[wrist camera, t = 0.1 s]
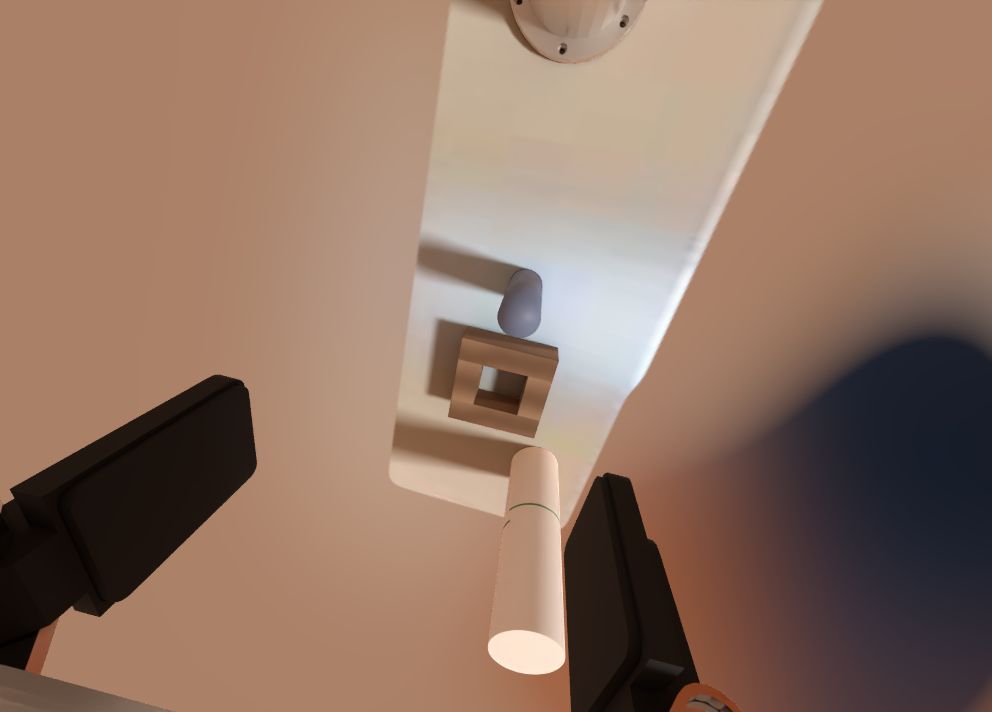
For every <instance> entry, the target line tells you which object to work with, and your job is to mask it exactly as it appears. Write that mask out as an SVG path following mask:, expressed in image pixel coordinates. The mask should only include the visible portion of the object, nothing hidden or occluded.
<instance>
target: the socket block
mask: <svg viewBox="0 0 992 712" xmlns="http://www.w3.org/2000/svg"><path fill="white" fill-rule="evenodd" d="M558 362H559V359H558V348H556V347H552V346H548V345H544V344H539V343H535V342H531V341H527V340H523V339H519V338H515V337H511V336H507V335H502V334H498V333H494V332H490V331H486V330H482V329H478V328H474V327H470V326H469V327H468V328H467V330H466V332H465V334H464V335H463V337H462V342H461V347H460V353H459V358H458V364H457V369H456V375H455V381H454V386H453V392H452V397H451V403H450V408H449V414H448V417H450V418H454V419H458V420H462V421H466V422H470V423H474V424H478V425H482V426H486V427H490V428H494V429H498V430H502V431H506V432H510V433H514V434H518V435H522V436H526V437H530V438H534V437H535V433H536V430H537V427H538V424H539V421H540V418H541V415H542V412H543V409H544V405H545V402H546V399H547V396H548V393H549V390H550V387H551V384H552V381H553V377H554V374H555V371H556V368H557V365H558ZM483 366H488V367H492V368H496V369H500V370H504V371H508V372H512V373H516V374H520V375H524V376H526V378H525V381H524V385H523V388H522V392H521V395H520V399H517V398H513V397H509V396H505V395H501V394H497V393H493V392H489V391H485V390H481V389H478V388H479V384H480V379H481V375H482V370H483Z"/></svg>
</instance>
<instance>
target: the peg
mask: <svg viewBox="0 0 992 712" xmlns="http://www.w3.org/2000/svg"><path fill="white" fill-rule="evenodd" d="M541 303H542V280H541V278H540V276H539V275H538V274H537V273H536V272H534V271H532V270H529V269H523V270H520V271H518V272H516V273H515V274H514V275H513V276H512V278H511V280H510V283H509V285H508V288H507V290H506V293H505V295H504V298H503V300H502V303H501V306H500V308H499V311H498V323H499V326H500V327H501V329H502V330H503V331H504V332H505V333H506V334H508V335H509V336H512V337H516V338H523V337H527V336H529V335H531V334H533V333H534V332H535V331H536V330H537V328H538V327H539V324H540V321H541Z"/></svg>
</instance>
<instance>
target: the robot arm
mask: <svg viewBox="0 0 992 712" xmlns="http://www.w3.org/2000/svg"><path fill="white" fill-rule="evenodd" d="M517 1H518V0H510V3H511V7H512V11H513V14H514V18H515V20H516V22H517V24H518V27H519V29H520V31H521V33H522V34H523V36H524V37H525V38H526V40H527V41H528V43H529V44H530V45H531V46H532V47H533V48H534V49H535V50H537V51H538V52H539V53H540V54H542V55H544V56H545V57H547V58H549V59H551V60H554V61H557V62H561V63H574V64H576V63H581V62H586V61H590V60H592V59H594V58H597V57H599V56H601V55H603V54H604V53H606V52H607V51H609V50H610V49H612V48H613V47H614V46H615V45H617V44H618V43H619V42H620V41H621V40H622V39H623V38H624V37H625V36H626V34H627V33H628V32H629V30H630V29H631V28H632V26H633V25H634V24H635V22H636V21H637V19H638V17H639V15H640V14H641V12H642V10H643V8H644V6H645V4H646V1H647V0H522V4H521V5H517ZM621 22H624V23H625V27H624V28H622V27H620V23H621ZM561 49H564V50H565V53H564V54H560V52H559V51H560V50H561ZM256 466H257V460H256V451H255V443H254V435H253V425H252V417H251V408H250V399H249V391H248V389H247V388H246V387H245V386H244V383H243V382H242V381H241V380H238V379H234V378H230V377H227V376H223V375H213V376H211V377H209V378H207V379H205V380H204V381H202V382H200V383H198V384H196V385H195V386H193V387H191V388H189V389H188V390H186V391H184V392H182V393H180V394H179V395H177V396H176V397H173V398H171V399H170V400H168V401H166V402H164V403H163V404H161V405H159V406H157V407H155V408H154V409H152V410H150V411H148V412H147V413H145V414H143V415H141V416H139V417H138V418H136V419H134V420H132V421H130V422H129V423H127V424H125V425H123V426H121V427H120V428H118V429H116V430H114V431H113V432H111V433H109V434H107V435H105V436H104V437H102V438H100V439H98V440H96V441H95V442H93V443H91V444H89V445H88V446H86V447H84V448H82V449H80V450H79V451H77V452H75V453H73V454H72V455H70V456H68V457H66V458H64V459H63V460H61V461H59V462H57V463H56V464H54V465H52V466H50V467H48V468H46V469H45V470H43V471H41V472H39V473H38V474H36V475H34V476H32V477H30V478H29V479H27V480H25V481H23V482H22V483H20V484H18V485H16V486H14V487H13V488H11V489H10V491H11V493H12V494H13V496H14V498H15V499H13V500H11V501H10V502H8V503H6V504H4V505H3V504H2V502H1V500H0V712H174V711H170V710H167V709H163V708H159V707H156V706H152V705H148V704H145V703H141V702H138V701H134V700H130V699H126V698H123V697H119V696H116V695H112V694H108V693H104V692H101V691H97V690H93V689H89V688H86V687H82V686H79V685H75V684H71V683H67V682H64V681H60V680H57V679H53V678H49V677H46V676H42V675H40V674H41V671H42V668H43V665H44V661H45V659H46V656H47V653H48V650H49V647H50V644H51V641H52V637H53V635H54V631H55V629H56V625H57V622H58V619H59V617H60V616H61V615H62V614H63V613H64V612H65V611H67V610H68V609H69V608H70V607H71V606H73V607H74V610H76V611H79V612H83V613H87V614H90V615H94V616H98V617H100V616H102V615H103V614H104V613H105V612H106V611H107V610H108V609H109V608H110V607H111V606H112V605H113V604H114V603H115V602H119V601H122V600H123V599H125V598H126V597H128V596H129V595H130V594H131V593H132V592H133V591H134V590H135V589H136V588H137V587H138V586H139V585H140V584H142V582H144V581H145V580H146V579H147V578H148V577H149V576H150V575H151V574H152V573H153V572H154V571H155V570H156V569H157V568H158V567H159V566H160V565H161V564H162V563H163V562H164V561H165V560H166V559H167V558H168V557H169V556H170V555H171V554H172V553H173V552H174V551H175V550H176V549H177V548H178V547H179V546H180V545H181V544H183V543H184V541H186V539H188V538H189V537H190V536H191V535H192V534H193V533H194V532H195V531H196V530H197V529H198V528H199V527H200V526H201V525H202V524H203V523H204V522H205V521H206V520H207V519H208V518H209V517H210V516H211V515H212V514H213V513H214V512H215V511H216V510H217V509H218V508H219V507H220V506H222V505H223V503H225V502H226V501H227V500H228V499H229V498H230V497H231V496H232V495H233V494H234V493H235V492H236V491H237V490H238V489H239V488H240V487H241V486H242V485H243V484H244V483H245V482H246V481H247V480H248V479H249V478H250V477H251V476H252V475H253V473H254V471H255V469H256ZM564 566H565V567H564V568H565V587H566V588H565V589H566V610H567V632H568V652H569V673H570V696H571V712H742V711H741V710H740V708H739V707H738V706H737V705H736V704H735V703H734V702H733V701H732V700H730V699H729V698H728V697H727V696H726V695H724V694H723V693H722V692H720V691H718V690H717V689H715V688H713V687H711V686H709V685H706V684H700V682H699V679H698V676H697V672H696V669H695V666H694V662H693V659H692V656H691V653H690V649H689V646H688V643H687V640H686V637H685V633H684V630H683V627H682V624H681V621H680V617H679V614H678V611H677V607H676V604H675V601H674V598H673V595H672V591H671V588H670V585H669V582H668V579H667V575H666V572H665V569H664V566H663V562H662V559H661V556H660V553H659V550H658V548H657V545H656V544H655V543H654V542H653V540H650V539H647V536H646V532H645V529H644V526H643V522H642V518H641V515H640V511H639V508H638V504H637V501H636V498H635V494H634V491H633V487H632V484H631V481H630V479H629V478H627V477H623V476H619V475H615V474H611V473H605V474H604V475H603V477H599V476H597V477H596V478H595V480H594V482H593V485H592V487H591V489H590V491H589V494H588V496H587V498H586V500H585V503H584V505H583V507H582V509H581V511H580V514H579V516H578V518H577V520H576V523H575V525H574V527H573V529H572V532H571V534H570V536H569V538H568V541H567V543H566V547H565V552H564Z"/></svg>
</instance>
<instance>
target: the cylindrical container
mask: <svg viewBox="0 0 992 712" xmlns="http://www.w3.org/2000/svg"><path fill="white" fill-rule="evenodd" d="M562 588H563V587H562V562H561V536H560V509H559V483H558V463H557V460H556V458H555V457H554V455H553V454H552V453H550V452H549V451H547V450H545V449H543V448H539V447H527V448H523V449H521V450H519V451H518V452H517V453H516V454H515V455H514V456H513V458H512V462H511V470H510V478H509V486H508V494H507V501H506V509H505V517H504V525H503V533H502V541H501V548H500V556H499V563H498V571H497V579H496V587H495V595H494V602H493V610H492V618H491V625H490V633H489V641H488V651H489V654H490V655H491V656H492V658H493V659H494V660H495V661H496V662H497V663H499V664H500V665H502V666H503V667H506V668H507V669H510V670H513V671H516V672H520V673H525V674H544V673H549V672H552V671H555V670H557V669H558V668H559V667H561V666H562V664H563V663H564V661H565V641H564V640H565V639H564V615H563V614H564V613H563V589H562Z"/></svg>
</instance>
